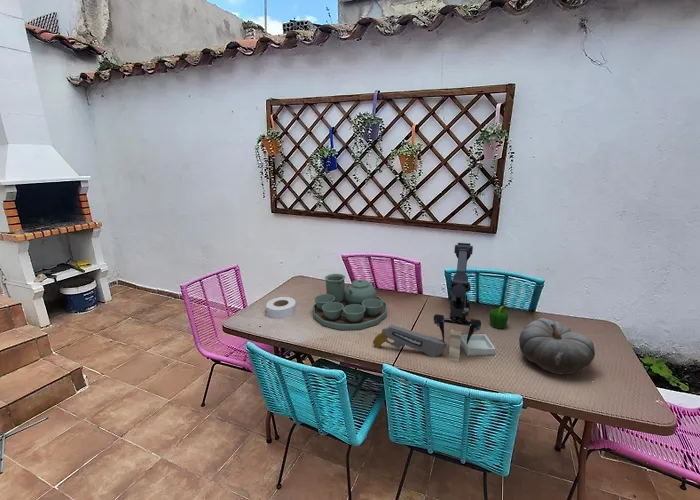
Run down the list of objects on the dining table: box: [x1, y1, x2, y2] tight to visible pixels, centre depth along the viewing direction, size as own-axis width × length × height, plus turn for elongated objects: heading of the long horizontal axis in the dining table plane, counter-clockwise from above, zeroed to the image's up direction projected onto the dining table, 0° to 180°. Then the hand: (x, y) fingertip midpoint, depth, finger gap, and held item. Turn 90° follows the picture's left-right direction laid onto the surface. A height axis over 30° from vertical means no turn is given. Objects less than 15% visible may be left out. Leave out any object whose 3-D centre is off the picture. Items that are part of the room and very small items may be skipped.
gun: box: [372, 324, 448, 358], centre depth 146 cm, size 4×28×17 cm, turn 74°
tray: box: [460, 333, 497, 357], centre depth 147 cm, size 12×12×3 cm
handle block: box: [448, 328, 462, 362], centre depth 139 cm, size 4×4×12 cm
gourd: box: [518, 317, 596, 375], centre depth 134 cm, size 25×25×17 cm
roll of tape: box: [266, 296, 297, 320], centre depth 185 cm, size 16×16×6 cm
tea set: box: [312, 273, 388, 331], centre depth 181 cm, size 40×40×16 cm
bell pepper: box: [488, 305, 509, 329], centre depth 163 cm, size 8×8×10 cm
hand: (455, 342), depth 139 cm, fingers open, 9 cm apart
